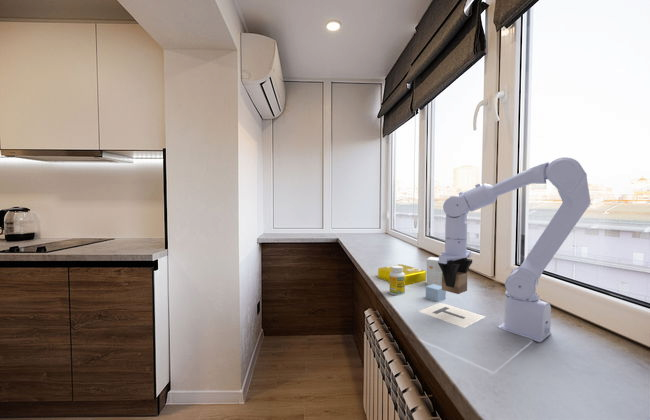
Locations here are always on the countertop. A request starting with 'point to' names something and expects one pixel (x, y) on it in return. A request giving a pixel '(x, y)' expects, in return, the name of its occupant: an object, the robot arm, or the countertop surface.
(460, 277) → the walnut block
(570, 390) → the countertop surface
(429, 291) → the dusty blue cube
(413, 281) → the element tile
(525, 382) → the countertop surface
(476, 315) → the letter card
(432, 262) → the small box
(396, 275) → the supplement bottle
